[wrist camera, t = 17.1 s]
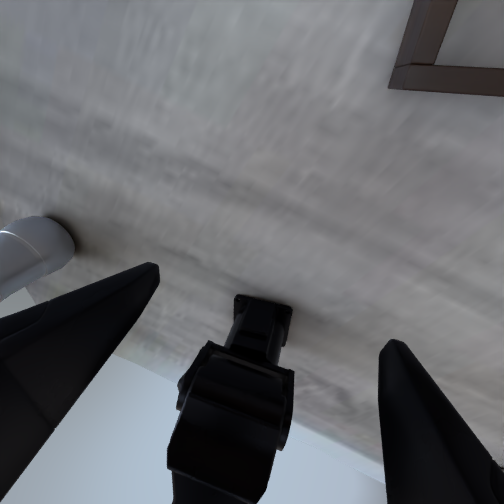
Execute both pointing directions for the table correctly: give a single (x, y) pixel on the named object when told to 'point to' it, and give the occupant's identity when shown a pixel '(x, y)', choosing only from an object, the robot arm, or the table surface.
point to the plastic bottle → (31, 252)
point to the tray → (425, 53)
